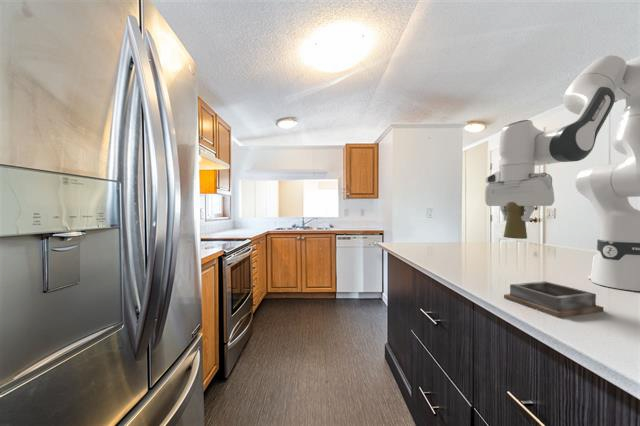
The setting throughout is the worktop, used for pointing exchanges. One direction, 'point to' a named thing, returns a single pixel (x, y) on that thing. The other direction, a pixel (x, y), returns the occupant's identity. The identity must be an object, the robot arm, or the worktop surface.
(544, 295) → the grey-rimmed square tray
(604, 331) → the worktop surface
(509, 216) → the cork
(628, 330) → the worktop surface
